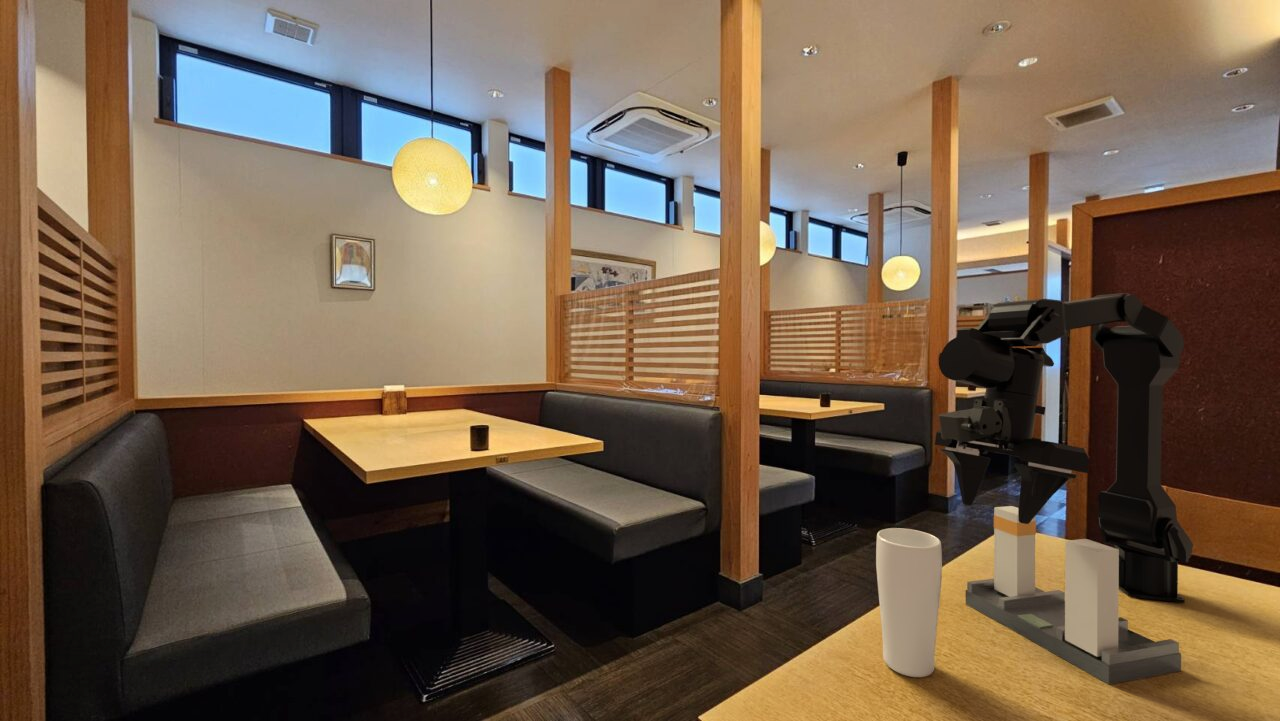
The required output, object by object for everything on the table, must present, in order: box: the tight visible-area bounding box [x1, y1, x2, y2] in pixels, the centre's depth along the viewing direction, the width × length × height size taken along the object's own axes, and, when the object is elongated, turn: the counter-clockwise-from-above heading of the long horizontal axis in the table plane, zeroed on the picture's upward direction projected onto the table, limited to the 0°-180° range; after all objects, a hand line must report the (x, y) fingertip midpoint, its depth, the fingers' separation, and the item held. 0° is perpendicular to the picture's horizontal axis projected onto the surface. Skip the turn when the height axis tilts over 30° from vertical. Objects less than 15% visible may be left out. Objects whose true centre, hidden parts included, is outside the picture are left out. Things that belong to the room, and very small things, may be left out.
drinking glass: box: [875, 527, 943, 678], centre depth 62 cm, size 7×7×15 cm
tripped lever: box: [993, 505, 1037, 597], centre depth 75 cm, size 3×4×12 cm
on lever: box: [1064, 538, 1120, 657], centre depth 62 cm, size 3×4×12 cm
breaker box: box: [965, 578, 1182, 685], centre depth 69 cm, size 10×19×3 cm, turn 13°
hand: (993, 513), depth 69 cm, fingers open, 9 cm apart
